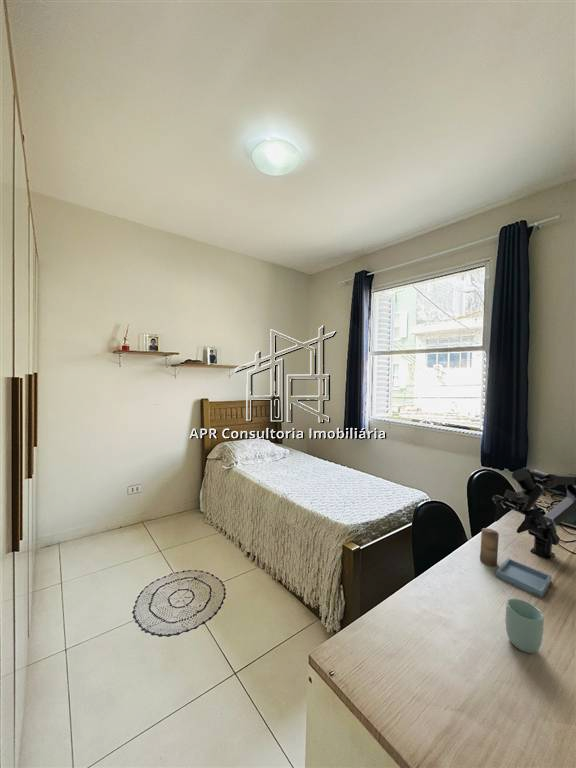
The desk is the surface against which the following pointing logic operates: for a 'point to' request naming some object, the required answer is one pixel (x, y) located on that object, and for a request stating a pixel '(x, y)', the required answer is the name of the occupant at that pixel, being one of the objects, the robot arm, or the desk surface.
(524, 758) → the desk surface
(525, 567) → the desk tray
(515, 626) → the cup
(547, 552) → the robot arm
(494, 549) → the cup
